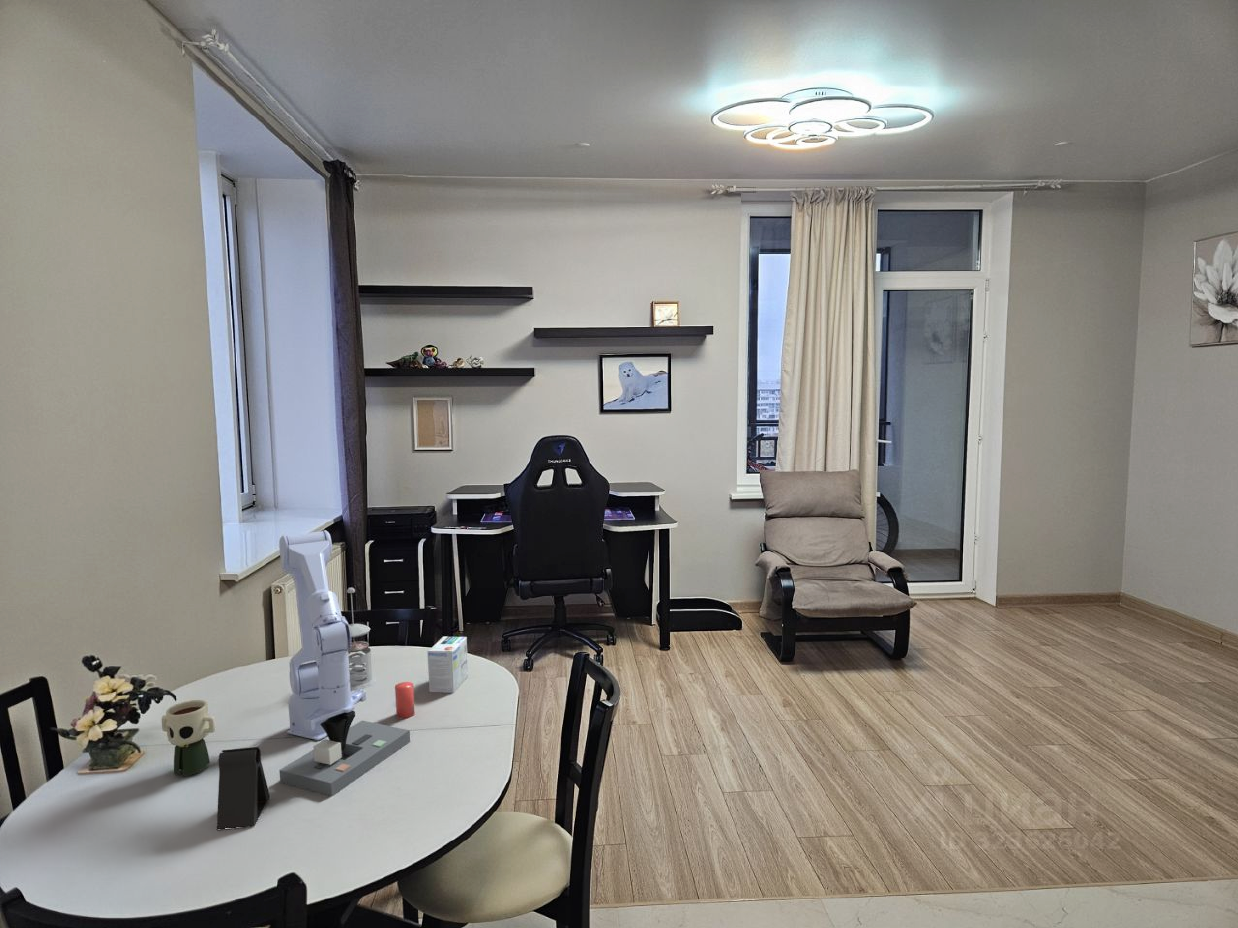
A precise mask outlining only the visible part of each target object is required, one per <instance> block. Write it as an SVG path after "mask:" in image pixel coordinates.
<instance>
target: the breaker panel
mask: <svg viewBox="0 0 1238 928" xmlns="http://www.w3.org/2000/svg"><path fill="white" fill-rule="evenodd" d="M410 742H411V730H409V729H407V728H406V729H405V728H402V727H401V728H400V727H395V726H391V725H385V724H382V723H381V724H380V723H375V722H371V721H367V720H360V721H359V722H357V723H355V724H353V725H352V726H350V728H349V731H348V735H347V740H346V745H345V749H343V750H342V751H341V753H342V757H343V756H348V757H347V758H346V759H343V758H342V759H341V758H340V759H338V760H337V761H335V762H334V763H332V764H331V765H329V764H325V763H321V762H316V761H314V749H312V750H310V751H308V752H307V753H305V754H303V755H302V756H301V757H298V758H297V759H295V760H294V761H292V762H291V763H289V764H287V765H285V766H284V767H282V768H280V769H279V782H280V783H281V784H284V785H288V786H291V787H292V786H293V787H296V788H300V789H304V790H307V791H312V792H314V793H319V794H323V795H327V796H331V797H333V796H335V795H336V794H337V793H339V792H341V791H342V790H343V789H344V788H346V787H347V786H349V785H350V784H351V783H353V782H355V781H356V780H358V779H359V778H361V776H363V775H364V774H366V773H367V772H369V771H370V770H372V769H373V768H375V767H376V766H378V765H379V764H380V763H382V762H383V761H384V760H386V759H388V758H389V757H391V756H392V755H393V754H395V753H396V752H397V751H399V750H400V749H402V748H403V747H405V746H406V745H408V744H409V743H410Z"/></svg>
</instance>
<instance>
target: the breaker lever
mask: <svg viewBox="0 0 1238 928" xmlns="http://www.w3.org/2000/svg"><path fill="white" fill-rule="evenodd" d="M313 750H314V761H316V762H321V763H325V764H329V765H331V764H332V763H334V762H335V761H337V760H338V759H341V758H342V757H343V756H342V753H341V743H340V742H335V741H331V740H329V739H325V738H324V739H322V740H321V741H320V742H318V743H316V744H315V745H314V746H313ZM342 759H343V758H342Z"/></svg>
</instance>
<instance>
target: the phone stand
mask: <svg viewBox="0 0 1238 928" xmlns="http://www.w3.org/2000/svg"><path fill="white" fill-rule="evenodd" d="M261 756H262V753H261V748H260V746H253V747H252V746H251V747H243V748H242V747H241V748H233V749H222V750H221V752H220V753H219V755H218V762H217V763H218V771H219V772H218V773H219V775H218V776H219V777H218V792H217V814H216V830H217V829H225V828H234V829H237V828H236V827H243V828H249V827H248V826H252V827H255V826H256V824H257V823H256V822H258V821H257V820H259V819H260V817H261V815H262V813H263V812H264V810H265V808H266V806H267V804H268V802H269V801H270V799H269V798H271V796H270V792H269V787H268V784H267V780H266V775H265V770H264V766H263V764H262V763H263V762H262V757H261ZM268 800H269V801H268ZM262 811H263V812H262ZM258 818H259V819H258Z"/></svg>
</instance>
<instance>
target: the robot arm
mask: <svg viewBox="0 0 1238 928" xmlns="http://www.w3.org/2000/svg"><path fill="white" fill-rule="evenodd" d="M331 537H332V536H331V534H330V533H329V531H327V530H326V529H325V530H323V529H322V531H315V532H313V531H311V532H305V533H297V534H290V535H287V534H283V535H281V537H280V538H279V541H278V546H279V547H278V548H279V556H280V564H281V565H280V566H281V569H282V573H284V574H289V575H290V576H291V577H292V580H293V582H294V588H295V589H294V590H295V597H296V606H297V616H298V624H299V633H300V641H301V642H300V644H301V648H300V649H299V650H298V651H297V652H296V653H295V654H294V655H293V656H292V657H291V659H290V661H289V682H290V683H289V684H290V687H291V692H292V694H291V695H290V698H289V699H288V700H289V701H288V714H289V715H288V718H289V730H287V731H286V733H287V734H288V735H293V736H297V737H298V736H299V737H302V738H307V739H310V740H311V739H312V740H314V741H322V740H323V739H325V738H326V737H327V738H328V740H331V741H335V742H340V743H341V751H342V750H343V749H345V745H346V740H347V735H348V731H349V728H350V727H352V726H351V725H352V724H353V721H354V719H355V717H356V712H355V705H356V704H359V702H365V701H367V691H366V690H364V689H359V690H354V691H352V690H350V674H349V670H350V669H349V665H350V664H349V658H348V656H349V654H348V650H347V648H348V649H350V648H351V642H352V637H351V632H350V628H349V625H350V624H349V622H348V620H347V618H346V617H345V616H343V615H342V612H341V607H340V603H339V600H338V597H337V594H336V593H335V592H334V591H331V590H330V588H329V583H328V582H329V581H328V577H327V570H326V567H327V566H328V563H329V562H330V559H331V556H332V554H333V542H332V538H331Z"/></svg>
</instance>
